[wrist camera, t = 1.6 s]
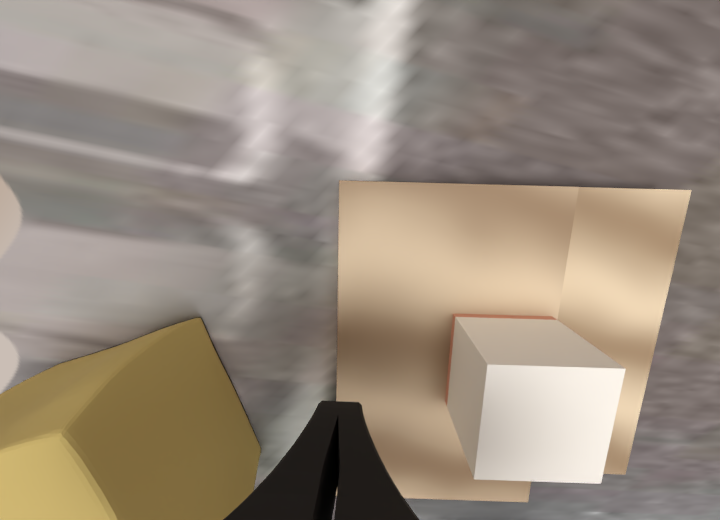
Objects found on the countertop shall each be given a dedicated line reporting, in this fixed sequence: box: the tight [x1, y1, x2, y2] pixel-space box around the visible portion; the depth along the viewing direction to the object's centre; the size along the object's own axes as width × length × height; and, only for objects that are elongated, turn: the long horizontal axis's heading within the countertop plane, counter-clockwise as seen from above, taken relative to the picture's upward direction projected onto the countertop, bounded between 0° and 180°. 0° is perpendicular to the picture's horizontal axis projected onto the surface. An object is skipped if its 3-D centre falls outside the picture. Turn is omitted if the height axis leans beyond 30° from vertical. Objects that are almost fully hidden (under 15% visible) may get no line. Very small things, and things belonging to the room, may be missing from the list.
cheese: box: [0, 318, 261, 520], centre depth 17 cm, size 10×11×10 cm
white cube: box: [445, 314, 626, 484], centre depth 14 cm, size 4×4×4 cm
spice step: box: [336, 180, 691, 502], centre depth 18 cm, size 16×16×4 cm
